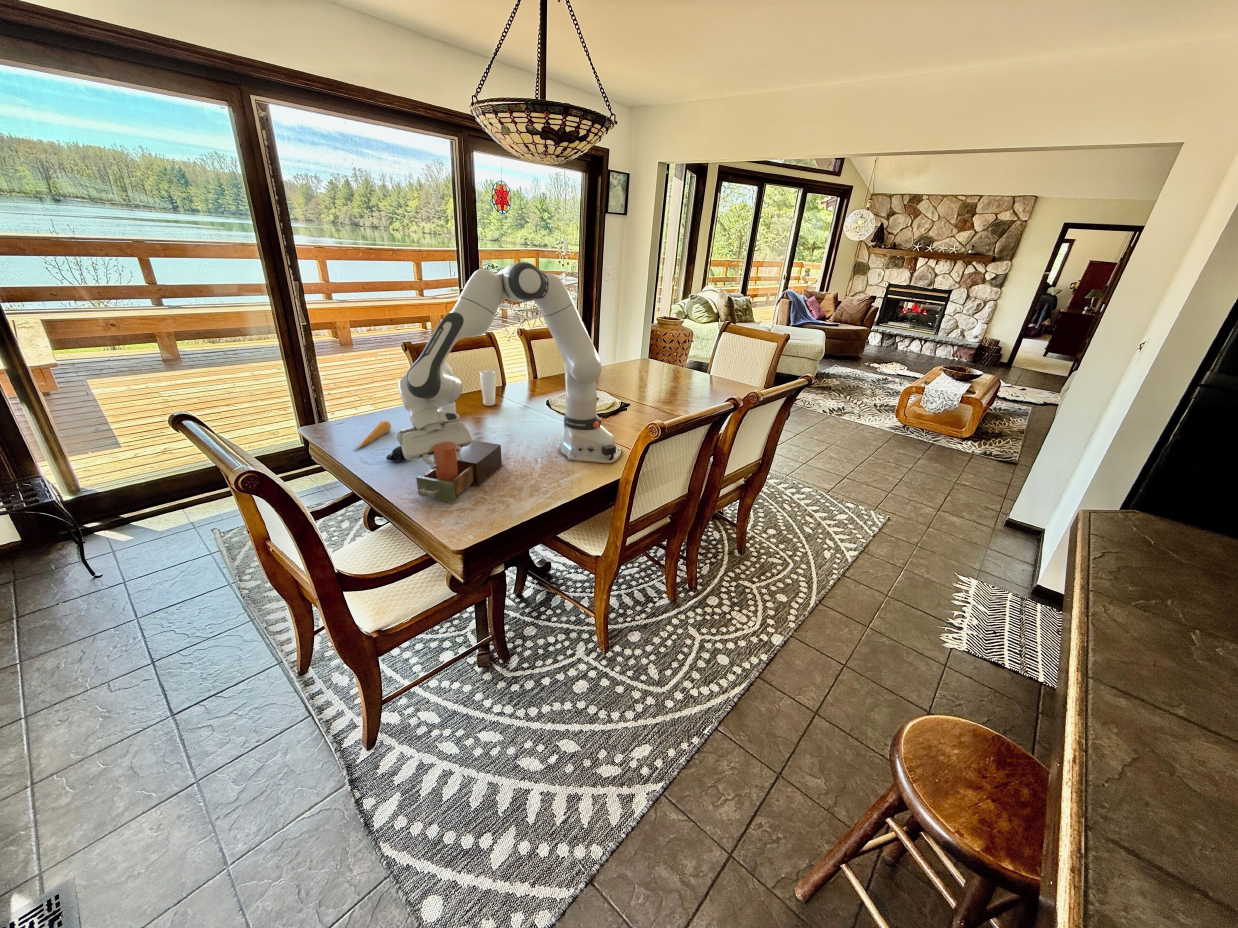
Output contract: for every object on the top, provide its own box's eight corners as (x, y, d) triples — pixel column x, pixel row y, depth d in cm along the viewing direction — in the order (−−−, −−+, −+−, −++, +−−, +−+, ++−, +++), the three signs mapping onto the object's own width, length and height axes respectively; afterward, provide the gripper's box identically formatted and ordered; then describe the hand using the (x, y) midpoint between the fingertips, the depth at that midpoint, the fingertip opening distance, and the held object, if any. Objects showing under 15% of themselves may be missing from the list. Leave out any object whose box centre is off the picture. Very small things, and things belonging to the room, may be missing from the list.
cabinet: (478, 485, 150) (476, 463, 147) (442, 479, 153) (439, 456, 150) (501, 465, 164) (500, 444, 161) (468, 459, 167) (466, 438, 163)
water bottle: (444, 414, 205) (438, 355, 194) (459, 415, 204) (453, 357, 194) (435, 421, 197) (428, 360, 186) (450, 422, 197) (444, 362, 186)
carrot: (385, 430, 186) (379, 420, 184) (395, 428, 185) (388, 417, 183) (355, 456, 169) (348, 445, 167) (365, 453, 168) (358, 442, 166)
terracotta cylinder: (463, 482, 147) (460, 443, 142) (451, 491, 142) (447, 451, 136) (445, 478, 149) (440, 440, 143) (432, 488, 143) (428, 448, 138)
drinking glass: (485, 401, 223) (483, 369, 217) (499, 402, 222) (497, 371, 216) (479, 405, 217) (477, 373, 210) (493, 407, 216) (492, 374, 210)
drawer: (445, 509, 135) (443, 490, 133) (409, 501, 137) (406, 483, 135) (479, 480, 152) (478, 463, 149) (446, 474, 154) (444, 457, 151)
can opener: (401, 466, 159) (398, 451, 156) (384, 462, 161) (382, 447, 158) (437, 447, 174) (435, 433, 171) (421, 444, 176) (419, 429, 174)
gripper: (395, 426, 135) (414, 470, 133) (463, 412, 148) (481, 452, 146) (391, 436, 140) (410, 478, 138) (457, 422, 153) (475, 460, 151)
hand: (447, 464), depth 142 cm, fingers closed on terracotta cylinder, 6 cm apart
